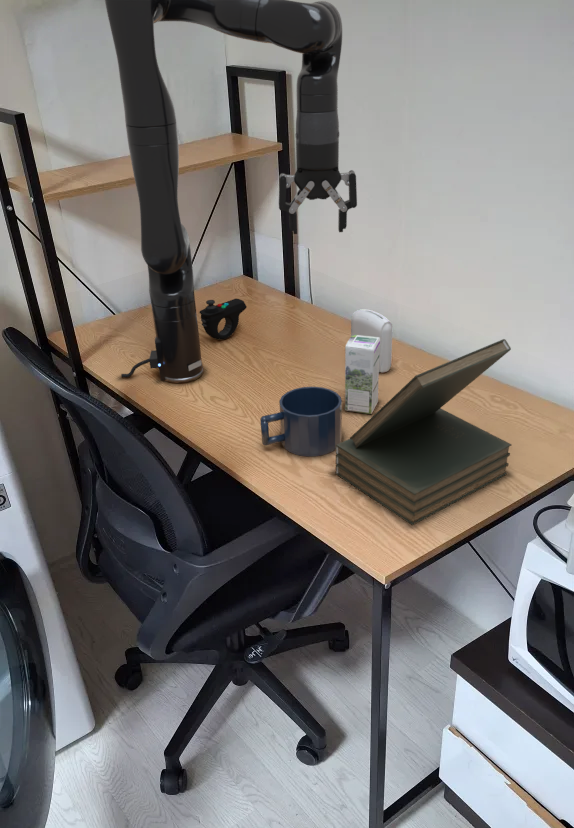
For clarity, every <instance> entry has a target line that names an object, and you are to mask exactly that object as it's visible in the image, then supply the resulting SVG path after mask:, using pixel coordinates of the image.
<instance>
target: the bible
mask: <svg viewBox="0 0 574 828" xmlns="http://www.w3.org/2000/svg"><path fill="white" fill-rule="evenodd" d="M511 350H512V347H511V346H510V344H509V343H508V341H507V339H505V338H503V339H499V340H498V341H496V342H495V341H494V343H490V344H489V345H486V346H484V347H481V348H479V349H476V350H474V351H472V352H469V353H466V354H464V355H462V356H459V357H457V358H455V359H452V360H450V361H447V362H445V363H442V364H440V365H438V366H435V367H433V368H431V369H428V370H426V371H424V372H421V373H418V374H416V375H414V377H412V379H410V380H409V381H408V382H407V383H406V384H405V385H404V386H403V387H402V388H401V389H400V390H399V391H398V392H397V393H396V394H395V395H393V396H392V398H390V399H389V400H388V401H387V402H386V403H385V404H384V405H383V406H382V407H381V408H379V410H377V412H376V413H375V414H374V415H373V416H371V417H370V418H369V419H368V420H367V421H366V422H364V424H363V425H362V426H360V428H359V429H357V430H356V431H355V432H354V433H353V434H352V436H350V437H349V439H346V440H344V441H341V443H339V444H337V445H336V450H335V475H336V476H338V477H339V478H341V479H343V480H344V481H345V482H347V483H348V484H350V485H352V486H353V487H354V488H356V489H357V490H359V491H361V492H362V493H364V494H365V495H367V496H368V497H369V498H371V499H372V500H374V501H375V502H377V503H378V504H380V505H381V506H383V507H384V508H386V509H388V510H389V511H391V512H392V513H393V514H395V515H396V516H398V517H399V518H401V519H402V520H404V521H405V522H407V523H408V524H410V525H411V526H413V525H416V524H418V523H419V522H421V521H423V520H425V519H427V518H429V517H431V516H433V515H434V514H436V513H438V512H440V511H442V510H444V509H446V508H448V507H449V506H451V505H453V504H455V503H456V502H459V501H461V500H462V499H464V498H466V497H468V496H470V495H472V494H473V493H475V492H477V491H480V490H481V489H483V488H484V487H487V486H489V485H490V484H493V483H494V482H496V481H498V480H500V479H501V478H503V477H506V476H507V475H508V473H507V472H506V470H507V467H509V465H510V464H509V463H508V457H510V456H511V453H510V452H509V450H510V447H511V446H512V445H513V444H512V443H510V442H508V441H506V440H504V439H502V438H500V437H498V436H496V435H494V434H492V433H490V432H489V431H486V430H485V429H482V428H480V427H479V426H476V425H475V424H473V423H470V422H468V421H466V420H465V419H463V418H461V417H458V416H457V415H455V414H452V413H451V412H449V411H447V410H444V409H443V408H442V407H444V406H445V405H446V404H448V402H449V401H451V400H453V398H455V397H456V396H457V395H458V394H459V393H461V392H462V391H463V390H465V388H467V387H468V386H469V385H470V384H472V383H473V382H474V381H475V380H476V379H477V378H479V377H480V376H481V375H483V374H484V373H485V372H486V371H487V370H489V369H490V368H491V367H492V366H493V365H494V364H496V363H497V362H499V360H501V358H503V357H504V356H505V355H506V354H507V353H509V352H510V351H511Z"/></svg>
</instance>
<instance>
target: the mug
mask: <svg viewBox="0 0 574 828" xmlns="http://www.w3.org/2000/svg"><path fill="white" fill-rule="evenodd" d="M342 402H343V400H342V397H341V395H339V393H337V392H336V391H335V390H333V389H330V388H326V387H323V386H301V387H297V388H294V389H291V390H289V391H286V392H285V393H284V394H283V395H281V397H280V399H279V412H276V413H275V412H274V413H271V414H266V415H262V416H261V417H260V420H259V421H260V432H261V433H260V435H261V444H262V446H264V447H265V446H270V445H274V444H278V443H281V445H282V447H283V449H285V450H286V451H287V452H289V453H291V454H293V455H296V456H301V457H320V456H321V457H322V456H324V455H327V454H330V453H333V452H335V451H336V445H337V444H339V443H341V442H342V439H343V437H342V432H343V431H342V430H343V429H342V428H343V427H342V423H343V422H342V421H343V420H342V419H343V403H342ZM278 421H279V422H280V423H279V424H280V434H277V435H276V434H275V435H272V436H270V428H269V423H275V422H278Z"/></svg>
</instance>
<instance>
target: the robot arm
mask: <svg viewBox="0 0 574 828" xmlns="http://www.w3.org/2000/svg"><path fill="white" fill-rule="evenodd" d="M104 2H105V9H106V13H107V18H108V22H109V23H108V24H109V27H110V28H109V29H110V31H111V37H112V41H113V45H114V50H115V55H116V59H117V65H118V73H119V74H118V75H119V81H120V82H119V83H120V90H121V96H122V102H123V103H122V104H123V111H124V122H125V130H126V138H127V145H128V150H129V156H130V157H129V158H130V161H131V166H132V173H133V178H134V182H135V187H136V191H137V197H138V202H139V215H140V216H139V217H140V251H141V256H142V258H143V260H144V262H145V264H146V265H147V272H148V293H149V299H150V306H151V314H152V320H153V326H154V333H155V337H154V346H155V350H150V353H149V358H147V359H144V360H141V361H139V362H137V363H136V364H134V365H133V366H132V368H131V370H130V371H129V373H121V375H120V376H121V378H130V377H132V376H133V375H134V373H135V371H136V370H137V369H138V368H139V367H141V366H144V365H146V364H148V363H149V367H150V369H158V372H159V373H158V374H159V380H160V381H161V382H163V381H164V382H165V381H166V382H168V383H172V384H183V383H189V382H193V381H196V380H198V379H200V378H201V377H202V376H203V375H204V366H203V358H202V350H201V349H202V348H201V342H200V334H199V333H200V332H199V323H198V314H197V306H196V298H195V285H194V284H195V283H194V282H195V281H194V269H193V261H192V249H191V242H190V237H189V232H188V230H187V229H186V227H185V226H184V225H183V224H182V220H181V214H180V208H179V198H178V197H179V195H178V193H179V191H178V188H179V174H180V173H179V171H180V170H179V169H180V166H179V165H180V151H179V149H180V148H179V137H178V134H179V133H178V125H177V124H178V123H177V116H176V110H175V106H174V103H173V99H172V97H171V95H170V92H169V90H168V87H167V85H166V82H165V80H164V78H163V76H162V72H161V69H160V67H159V62H158V58H157V52H156V42H155V41H156V40H155V26H154V25H155V24H156V23H159V22H160V23H161V22H181V23H182V22H185V23H190V24H191V23H192V24H196V25H200V26H203V27H207V28H208V29H211V30H214V31H216V32H219V33H221V34H224V35H227V36H231V37H234V38H237V39H242V40H247V41H252V42H258V43H263V44H271V45H274V46H277V47H279V48H283V49H285V50H288V51H291V52H293V53H294V52H295V53H298V54H302V55H301V56H302V57H301V69H300V72H299V73H298V75H297V79H296V117H295V134H294V135H295V160H296V162H295V165H296V166H295V167H296V169H295V173H294V174H286V173H285V172H281V173H280V174H279V178H278V181H279V183H278V209H279V211H281V212H282V211H284V212H287V214H288V218H289V219H288V222H289V224H288V225H289V227H288V228H289V230H290V232H292V233H293V235H298V214H297V212H298V211H297V210H298V209H299V207H300V206H301V205H302V204H303V203H304V201H305V199H308V200H309V201H314V200H318V199H319V200H327V199H328V198H330V199H331V200H332V201H333V202H334V204H336V206H337V207H338V219H337V220H338V222H337V224H338V225H337V226H338V227H337V229H338V232H339V233H343V232H344V230H346V229H347V225H348V222H347V221H348V211H349V210H351V209H356V207H357V206H358V195H357V193H358V192H357V190H358V189H357V175H356V171H354V170H353V169H351V170H349V171H348V172H341V173H340V170H339V169H340V167H339V161H340V160H339V158H340V157H339V155H340V153H339V152H340V151H339V150H340V147H339V146H340V145H339V142H340V121H339V112H338V111H339V110H338V108H339V107H338V106H339V105H338V104H339V103H338V101H339V98H338V97H339V92H338V91H339V89H338V88H339V86H338V85H339V84H338V77H339V76H338V75H339V70H340V64H341V63H340V62H341V55H342V46H343V22H342V17H341V14H340V12H339V10H338V9H337V7H335V5H334V4H332V3H331V2H328V1H326V0H318V1H314V2H310V3H309V2H300V1H294V0H104ZM341 181H343V182H344V185H345V186H347V187H348V199H347V200H344V199H343V197H342V196H341V194H340V193H339V192H338V190H337V188H338V186H339V184H340V183H341ZM292 183H294V184H295V185H296V187H297V188H298V190H297V192H296V193H295V195H294V197H293V199H292V200H290V201H291V202H287V189H289V188H290V187H291V185H292Z"/></svg>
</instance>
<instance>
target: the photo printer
mask: <svg viewBox="0 0 574 828" xmlns="http://www.w3.org/2000/svg"><path fill="white" fill-rule="evenodd" d="M352 335H361V336H371V337H380V358H379V373H380V374H381V373H387V372H389V371H390V370H391V367H392V357H393V356H392V355H393V354H392V353H393V323H392V322H391V321H390V319H389V318H387V317H386V316H385V315H383V314H382V313H380V312H378V311H375V310H372V309H368V308H361V309H358V310H355V311H354V312H353V313H352V314H351V319H350V337H351V336H352Z"/></svg>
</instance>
